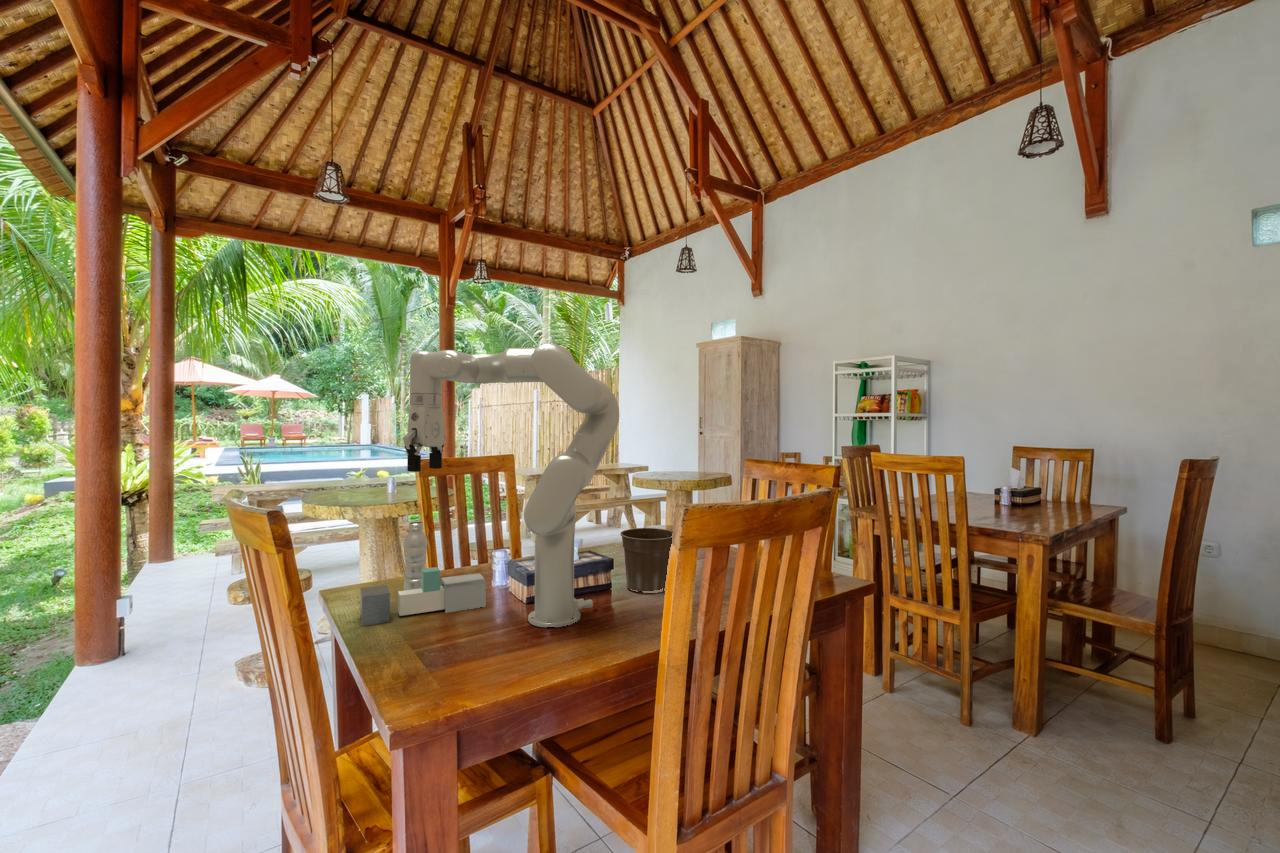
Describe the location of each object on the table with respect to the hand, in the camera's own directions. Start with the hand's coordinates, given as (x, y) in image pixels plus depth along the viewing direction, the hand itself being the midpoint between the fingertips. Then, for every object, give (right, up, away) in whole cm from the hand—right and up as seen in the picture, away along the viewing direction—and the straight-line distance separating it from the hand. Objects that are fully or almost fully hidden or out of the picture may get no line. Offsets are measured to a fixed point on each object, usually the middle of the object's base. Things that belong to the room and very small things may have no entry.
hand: (425, 469), depth 143 cm
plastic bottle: (-9, -36, +17) cm, 41 cm away
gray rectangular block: (+7, -36, +7) cm, 38 cm away
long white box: (+2, -36, +4) cm, 36 cm away
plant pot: (+56, -36, +23) cm, 71 cm away
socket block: (-11, -36, -3) cm, 38 cm away
